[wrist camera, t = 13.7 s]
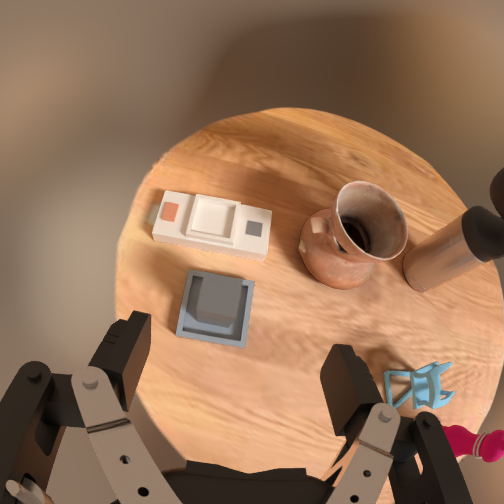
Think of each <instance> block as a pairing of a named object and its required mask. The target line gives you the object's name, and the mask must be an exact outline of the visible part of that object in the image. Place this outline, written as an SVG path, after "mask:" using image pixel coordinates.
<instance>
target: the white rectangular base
mask: <svg viewBox="0 0 504 504" xmlns="http://www.w3.org/2000/svg"><path fill="white" fill-rule="evenodd" d="M240 203H241V202H237V201H232V200H227V199H222V198H217V197H211V196H206V195H200V194H196V196H195V195H190V194H184V193H178V192H172V191H165V193H164V196H163V199H162V202H161V205H160V208H159V212H158V215H157V218H156V221H155V224H154V227H153V231H152V235H153V238H154V241H157V242H162V243H167V244H172V245H177V246H182V247H188V248H193V249H198V250H203V251H208V252H214V253H219V254H224V255H229V256H235V257H240V258H245V259H251V260H256V261H261V262H263V261H264V259H265V258H266V256H267V251H268V243H269V234H270V226H271V217H272V210H267V209H262V208H257V207H252V206H247V205H243V204H240Z"/></svg>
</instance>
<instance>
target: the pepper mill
mask: <svg viewBox="0 0 504 504" xmlns="http://www.w3.org/2000/svg"><path fill="white" fill-rule="evenodd" d="M442 428H443V430H444V432H445V434H446V437H447V439H448V441H449V443H450V446H451V448H452V450H453V453H454V455H455V458H456V457H458V456H461V455H465V454H468V455H473V456H474V458H479V459H481V458H482V459H483V460H484V461H485V462H495V461H497V460H498V459H500V458H501V457H502V456H503V455H504V431H503V430H496V431H493V432H492V433H489V432H488V433H486V432H484V433H482V434H480V435H476V434H473V433H471V432H470V431H468V430H467V429H466V428H464V427H462V426H459V425H452V426H450V427H446V426H442Z"/></svg>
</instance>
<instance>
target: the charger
mask: <svg viewBox="0 0 504 504" xmlns="http://www.w3.org/2000/svg"><path fill="white" fill-rule="evenodd" d="M242 283H243V280H242V279H237V278H233V277H228V276H223V275H218V274H214V273H209V272H205V273H204V277H203V282H202V286H201V291H200V295H199V300H198V304H197V309H196V310H197V320H198V322H201V323H206V324H211V325H216V326H221V327H226V328H229V327H230V325H231V324H232V323H233V321H234V320H235V319H236V316H237V311H238V305H239V300H240V294H241V288H242Z"/></svg>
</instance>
